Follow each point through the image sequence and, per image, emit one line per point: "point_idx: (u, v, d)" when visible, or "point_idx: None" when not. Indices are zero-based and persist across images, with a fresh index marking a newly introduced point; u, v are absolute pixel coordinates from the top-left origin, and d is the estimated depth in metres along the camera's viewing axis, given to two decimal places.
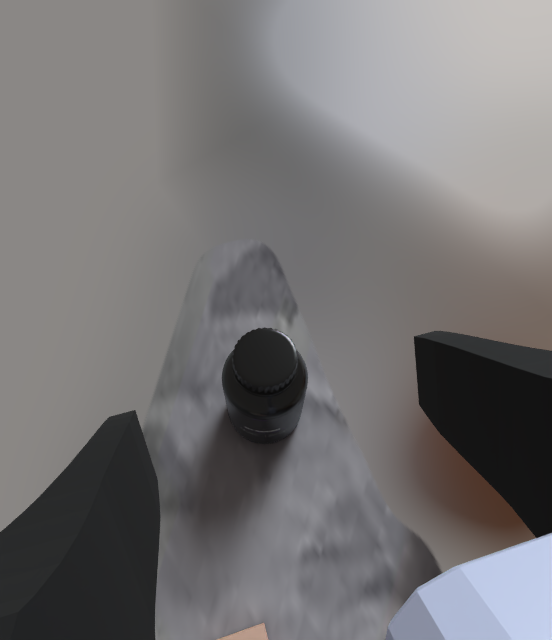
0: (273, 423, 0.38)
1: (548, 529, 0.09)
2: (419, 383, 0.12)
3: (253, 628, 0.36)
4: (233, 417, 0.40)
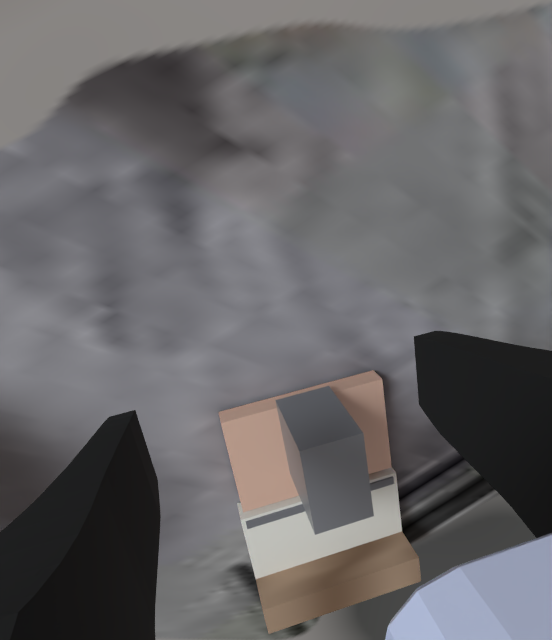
0: None
1: (548, 529, 0.09)
2: (419, 383, 0.12)
3: (226, 438, 0.21)
4: None
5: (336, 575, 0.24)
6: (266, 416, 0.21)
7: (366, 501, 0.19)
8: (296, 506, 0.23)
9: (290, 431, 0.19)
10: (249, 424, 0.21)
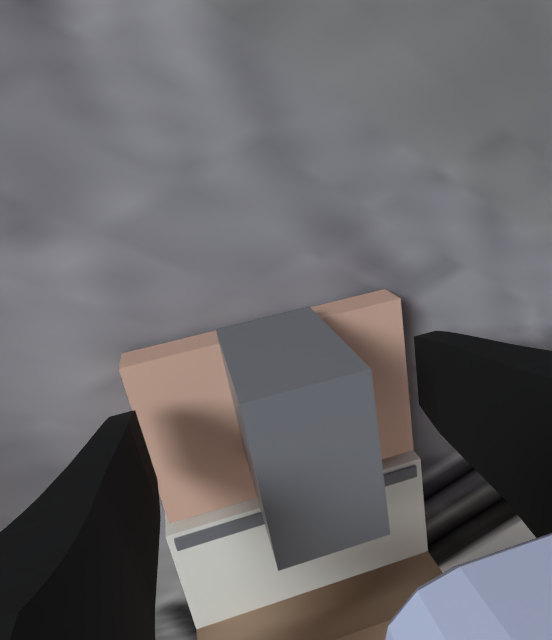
0: None
1: (548, 529, 0.09)
2: (419, 383, 0.12)
3: (131, 396, 0.12)
4: None
5: (324, 625, 0.15)
6: (201, 358, 0.12)
7: (376, 507, 0.10)
8: (258, 513, 0.14)
9: (230, 372, 0.10)
10: (171, 372, 0.12)
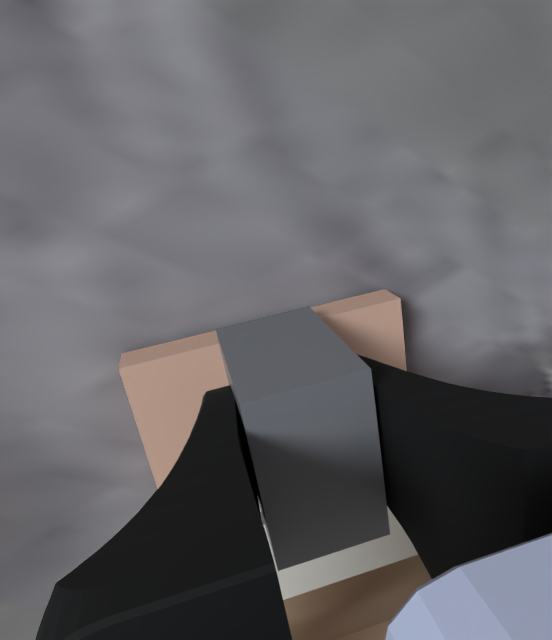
0: None
1: (436, 568, 0.09)
2: None
3: (130, 396, 0.12)
4: None
5: (324, 625, 0.15)
6: (201, 358, 0.12)
7: (376, 507, 0.10)
8: None
9: (230, 372, 0.10)
10: (171, 372, 0.12)
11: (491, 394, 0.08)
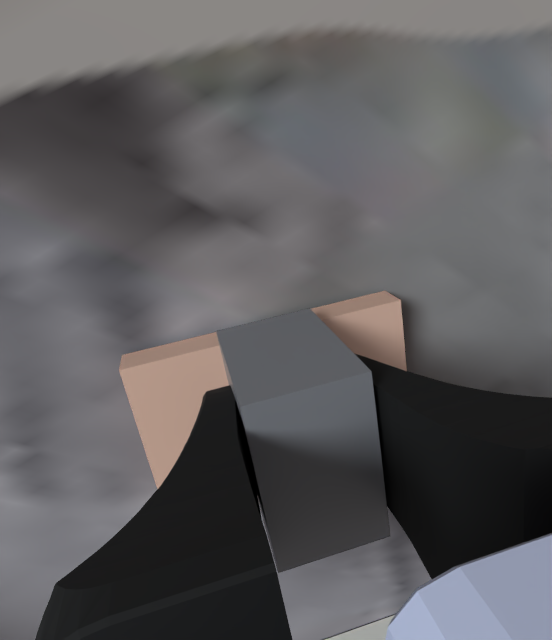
0: None
1: (436, 568, 0.09)
2: None
3: (131, 397, 0.12)
4: None
5: None
6: (201, 360, 0.12)
7: (376, 509, 0.10)
8: None
9: (230, 374, 0.10)
10: (171, 374, 0.12)
11: (491, 394, 0.08)
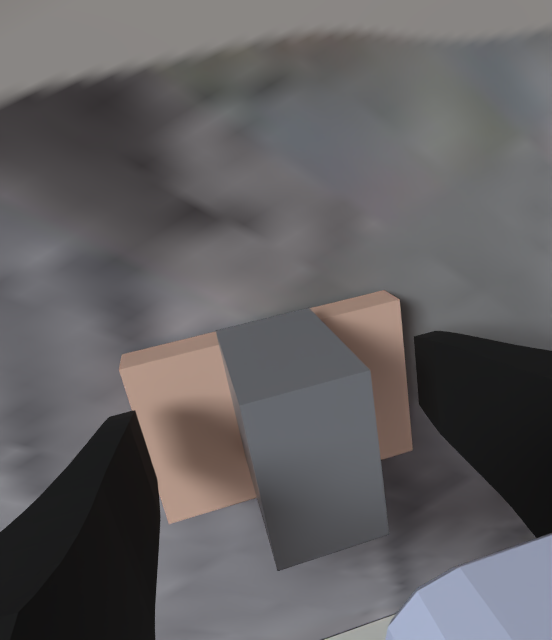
0: None
1: (548, 529, 0.09)
2: (419, 383, 0.12)
3: (131, 397, 0.12)
4: None
5: None
6: (200, 359, 0.12)
7: (375, 507, 0.10)
8: None
9: (230, 373, 0.10)
10: (171, 373, 0.12)
11: None
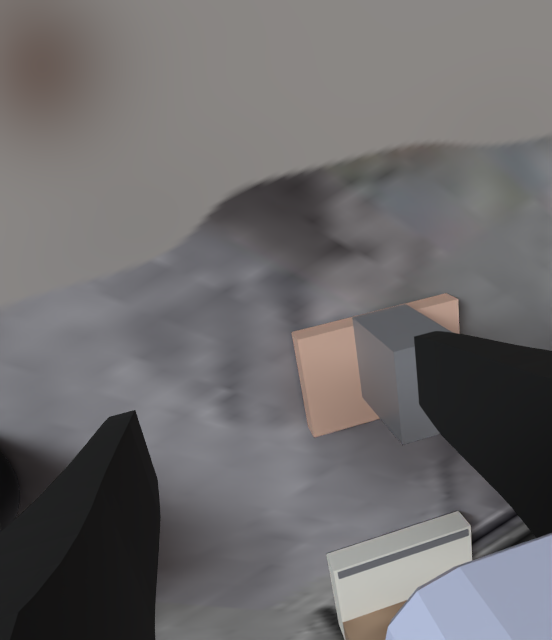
0: None
1: (548, 529, 0.09)
2: (419, 383, 0.12)
3: (301, 356, 0.21)
4: None
5: None
6: (342, 334, 0.21)
7: None
8: (382, 558, 0.26)
9: (377, 338, 0.18)
10: (325, 342, 0.21)
11: None
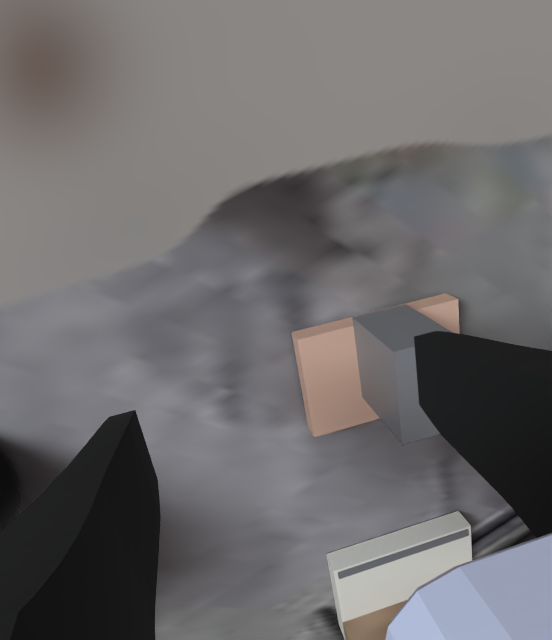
0: None
1: (548, 529, 0.09)
2: (419, 383, 0.12)
3: (301, 356, 0.21)
4: None
5: None
6: (342, 334, 0.21)
7: None
8: (382, 558, 0.26)
9: (377, 338, 0.18)
10: (325, 342, 0.21)
11: None
